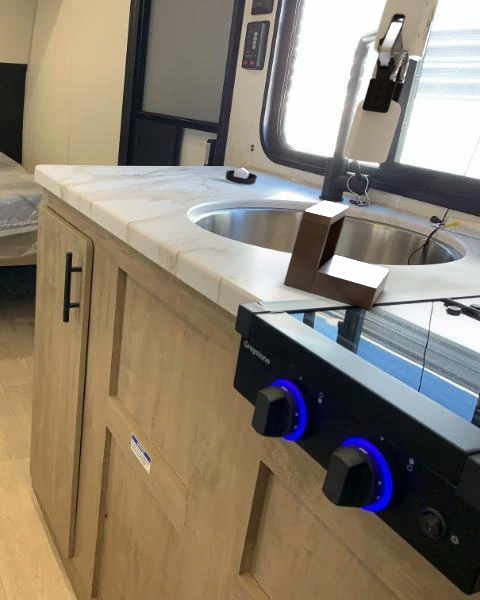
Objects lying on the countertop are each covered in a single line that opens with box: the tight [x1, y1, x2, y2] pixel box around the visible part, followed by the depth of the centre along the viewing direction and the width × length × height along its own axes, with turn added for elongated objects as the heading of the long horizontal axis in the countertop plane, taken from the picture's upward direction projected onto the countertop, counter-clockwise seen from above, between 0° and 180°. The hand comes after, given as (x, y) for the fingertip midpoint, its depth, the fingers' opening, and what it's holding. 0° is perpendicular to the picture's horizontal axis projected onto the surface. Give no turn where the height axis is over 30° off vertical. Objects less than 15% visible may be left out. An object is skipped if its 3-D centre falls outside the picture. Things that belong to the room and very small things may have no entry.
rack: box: [283, 200, 391, 311], centre depth 80 cm, size 11×11×10 cm
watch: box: [225, 167, 258, 185], centre depth 152 cm, size 8×5×4 cm, turn 77°
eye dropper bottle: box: [343, 98, 402, 164], centre depth 82 cm, size 4×6×12 cm
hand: (378, 110), depth 82 cm, fingers closed on eye dropper bottle, 4 cm apart
